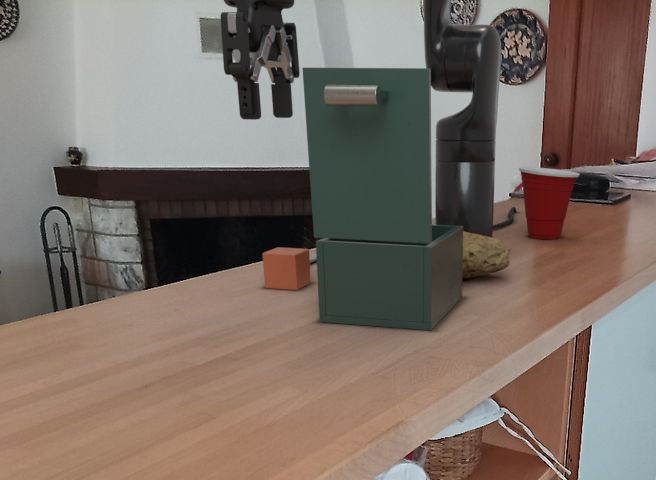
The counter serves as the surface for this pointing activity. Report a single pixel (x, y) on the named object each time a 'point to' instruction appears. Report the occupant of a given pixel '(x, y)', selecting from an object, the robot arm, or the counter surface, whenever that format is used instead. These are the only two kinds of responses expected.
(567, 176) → the plastic cup
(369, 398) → the counter surface
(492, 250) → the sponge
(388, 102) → the lid
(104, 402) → the counter surface
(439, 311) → the box
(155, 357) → the counter surface
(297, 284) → the block
